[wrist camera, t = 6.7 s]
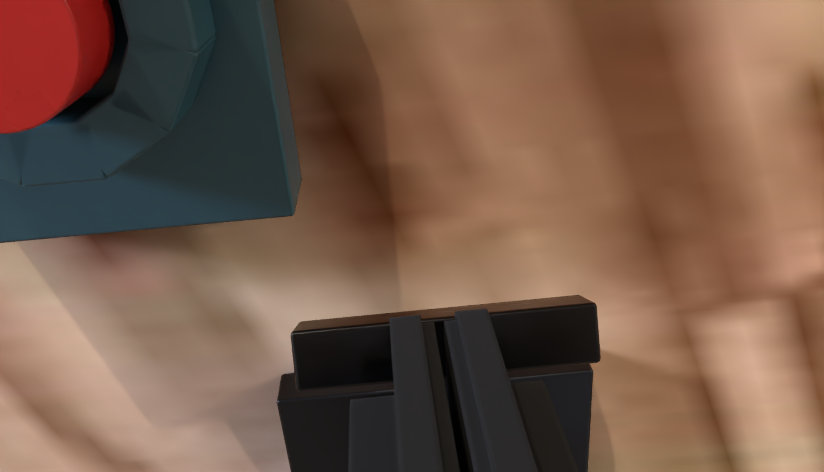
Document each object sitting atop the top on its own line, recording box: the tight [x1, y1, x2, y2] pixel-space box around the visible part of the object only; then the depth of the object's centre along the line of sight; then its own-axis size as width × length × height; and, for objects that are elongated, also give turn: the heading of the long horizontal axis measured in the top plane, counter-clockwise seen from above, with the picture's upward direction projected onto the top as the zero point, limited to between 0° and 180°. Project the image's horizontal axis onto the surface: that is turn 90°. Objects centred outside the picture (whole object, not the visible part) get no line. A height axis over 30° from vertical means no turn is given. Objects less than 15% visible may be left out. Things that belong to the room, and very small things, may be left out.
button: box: [0, 0, 115, 134], centre depth 12 cm, size 3×3×2 cm
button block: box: [0, 0, 302, 243], centre depth 14 cm, size 10×8×4 cm
